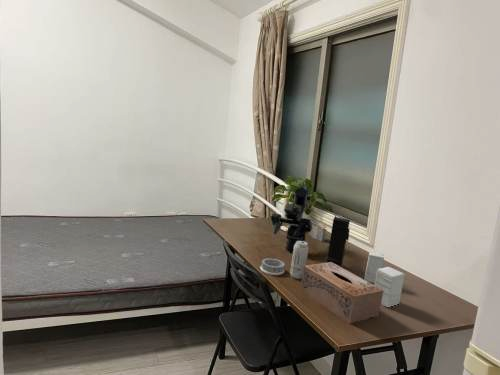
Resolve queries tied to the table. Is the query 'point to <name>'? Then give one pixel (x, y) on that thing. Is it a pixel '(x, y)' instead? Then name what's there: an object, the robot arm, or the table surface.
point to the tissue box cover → (341, 291)
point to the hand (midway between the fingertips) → (284, 235)
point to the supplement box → (389, 285)
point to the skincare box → (373, 266)
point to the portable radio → (338, 240)
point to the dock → (272, 266)
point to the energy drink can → (299, 259)
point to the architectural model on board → (318, 232)
